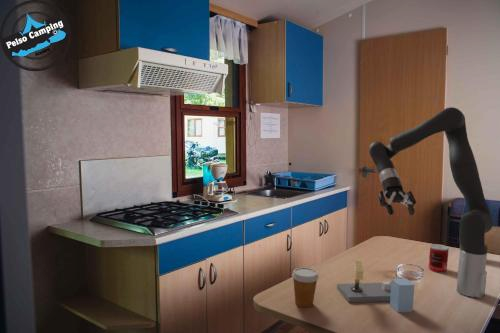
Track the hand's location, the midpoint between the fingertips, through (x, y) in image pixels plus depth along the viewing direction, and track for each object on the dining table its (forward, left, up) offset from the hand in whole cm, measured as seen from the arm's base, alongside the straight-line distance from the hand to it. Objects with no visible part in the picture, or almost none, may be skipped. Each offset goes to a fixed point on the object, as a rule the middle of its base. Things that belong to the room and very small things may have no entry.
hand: (402, 214), depth 155 cm
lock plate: (+4, +14, -31) cm, 34 cm away
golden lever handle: (+4, +23, -28) cm, 36 cm away
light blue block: (-10, +16, -31) cm, 36 cm away
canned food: (-2, -35, -31) cm, 47 cm away
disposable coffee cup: (+15, +40, -31) cm, 53 cm away
